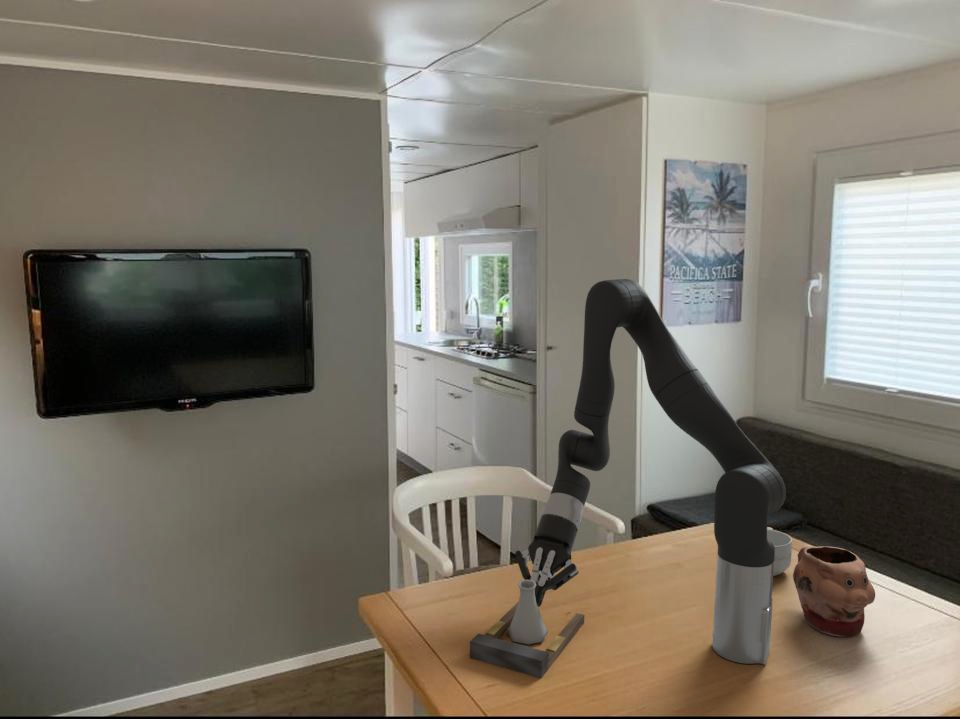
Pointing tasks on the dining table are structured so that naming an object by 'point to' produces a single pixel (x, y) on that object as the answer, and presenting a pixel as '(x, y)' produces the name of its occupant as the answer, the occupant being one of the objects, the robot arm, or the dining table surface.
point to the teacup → (780, 550)
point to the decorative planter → (833, 589)
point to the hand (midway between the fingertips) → (531, 607)
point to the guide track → (521, 647)
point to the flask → (527, 617)
